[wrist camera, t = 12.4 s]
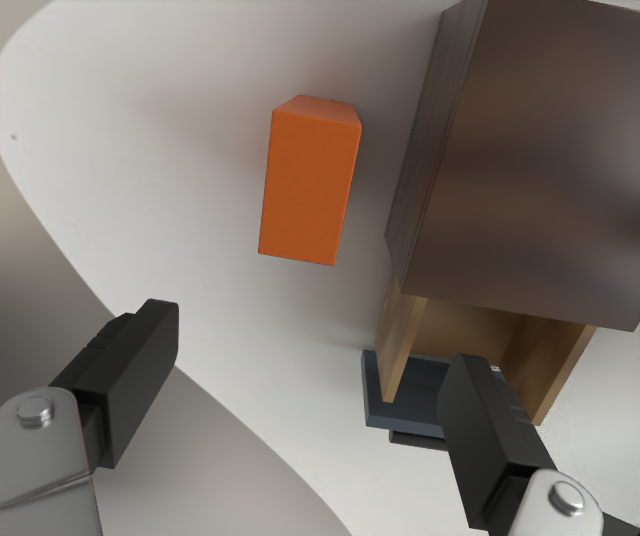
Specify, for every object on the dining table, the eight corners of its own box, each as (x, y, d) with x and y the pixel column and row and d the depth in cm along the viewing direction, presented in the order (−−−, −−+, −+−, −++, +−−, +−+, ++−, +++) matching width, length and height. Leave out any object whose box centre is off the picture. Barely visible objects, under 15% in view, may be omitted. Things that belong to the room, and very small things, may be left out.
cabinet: (556, 264, 33) (633, 332, 24) (384, 234, 32) (400, 294, 24) (659, 53, 26) (817, 45, 17) (441, 11, 25) (494, -19, 17)
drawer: (483, 414, 39) (515, 488, 32) (351, 393, 39) (354, 463, 32) (567, 242, 31) (633, 292, 24) (400, 213, 31) (418, 255, 24)
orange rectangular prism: (335, 199, 31) (334, 266, 20) (285, 190, 31) (257, 254, 20) (353, 104, 28) (362, 126, 17) (297, 94, 28) (272, 109, 17)
